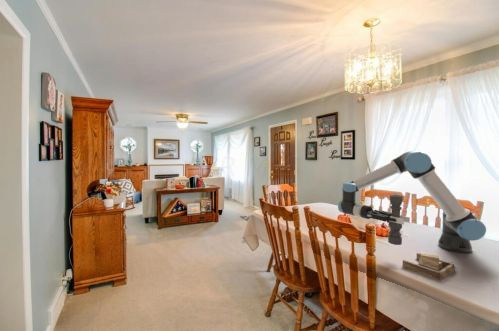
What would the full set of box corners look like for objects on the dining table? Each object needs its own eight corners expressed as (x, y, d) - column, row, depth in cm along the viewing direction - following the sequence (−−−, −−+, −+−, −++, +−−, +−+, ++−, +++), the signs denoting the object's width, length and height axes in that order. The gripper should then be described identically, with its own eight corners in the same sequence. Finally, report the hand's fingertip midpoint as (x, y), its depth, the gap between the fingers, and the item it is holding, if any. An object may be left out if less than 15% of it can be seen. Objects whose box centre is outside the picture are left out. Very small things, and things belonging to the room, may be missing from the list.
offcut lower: (423, 261, 124) (423, 256, 123) (442, 268, 117) (442, 262, 117) (418, 264, 121) (419, 258, 121) (437, 270, 114) (438, 264, 114)
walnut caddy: (417, 258, 127) (417, 252, 127) (454, 270, 114) (454, 264, 114) (402, 266, 118) (402, 260, 118) (440, 280, 105) (440, 273, 105)
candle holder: (396, 240, 129) (398, 194, 127) (404, 244, 122) (406, 196, 121) (385, 240, 128) (386, 194, 127) (392, 245, 122) (394, 196, 121)
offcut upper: (420, 257, 122) (420, 251, 122) (437, 260, 118) (437, 254, 118) (421, 260, 118) (421, 255, 118) (438, 264, 115) (439, 258, 114)
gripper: (371, 215, 145) (414, 225, 125) (353, 220, 135) (397, 231, 116) (372, 203, 144) (415, 211, 125) (354, 207, 135) (397, 216, 115)
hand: (406, 220), depth 120 cm, fingers closed on candle holder, 5 cm apart
